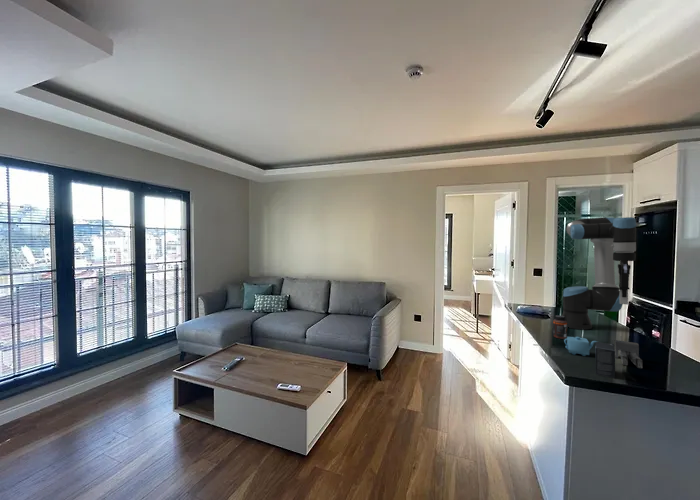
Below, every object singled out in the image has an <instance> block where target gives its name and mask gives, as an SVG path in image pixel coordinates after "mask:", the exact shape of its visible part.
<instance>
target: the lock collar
mask: <svg viewBox="0 0 700 500" xmlns="http://www.w3.org/2000/svg"><path fill="white" fill-rule="evenodd" d="M614 349H615V359H618V358H619V350H621V351H627V352H628V353H629V352H634V353H635V354H636V355H637V356H638V357H639V358H640V354H639V353H640V352H639V351H640V345H639V343H637V342H632V341H624V340H620V339H615V340H614Z"/></svg>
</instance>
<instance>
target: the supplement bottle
mask: <svg viewBox="0 0 700 500" xmlns="http://www.w3.org/2000/svg"><path fill="white" fill-rule="evenodd" d="M552 321H553V322H552V323H553V324H552V325H553V326H552V327H553V328H552V330H553V331H552V332H553V337H554V338H556V339H560V340H565V339H567V337H568V327H567V321H565V317H564V316H562V314H559V315H555V318H554V319H553V320H552Z"/></svg>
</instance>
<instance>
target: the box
mask: <svg viewBox="0 0 700 500" xmlns="http://www.w3.org/2000/svg"><path fill="white" fill-rule="evenodd" d="M595 375H597V376H601V377H605V378H611V379H615V378H616V357H615V343H605V342H600V341H598V342H595Z"/></svg>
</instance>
